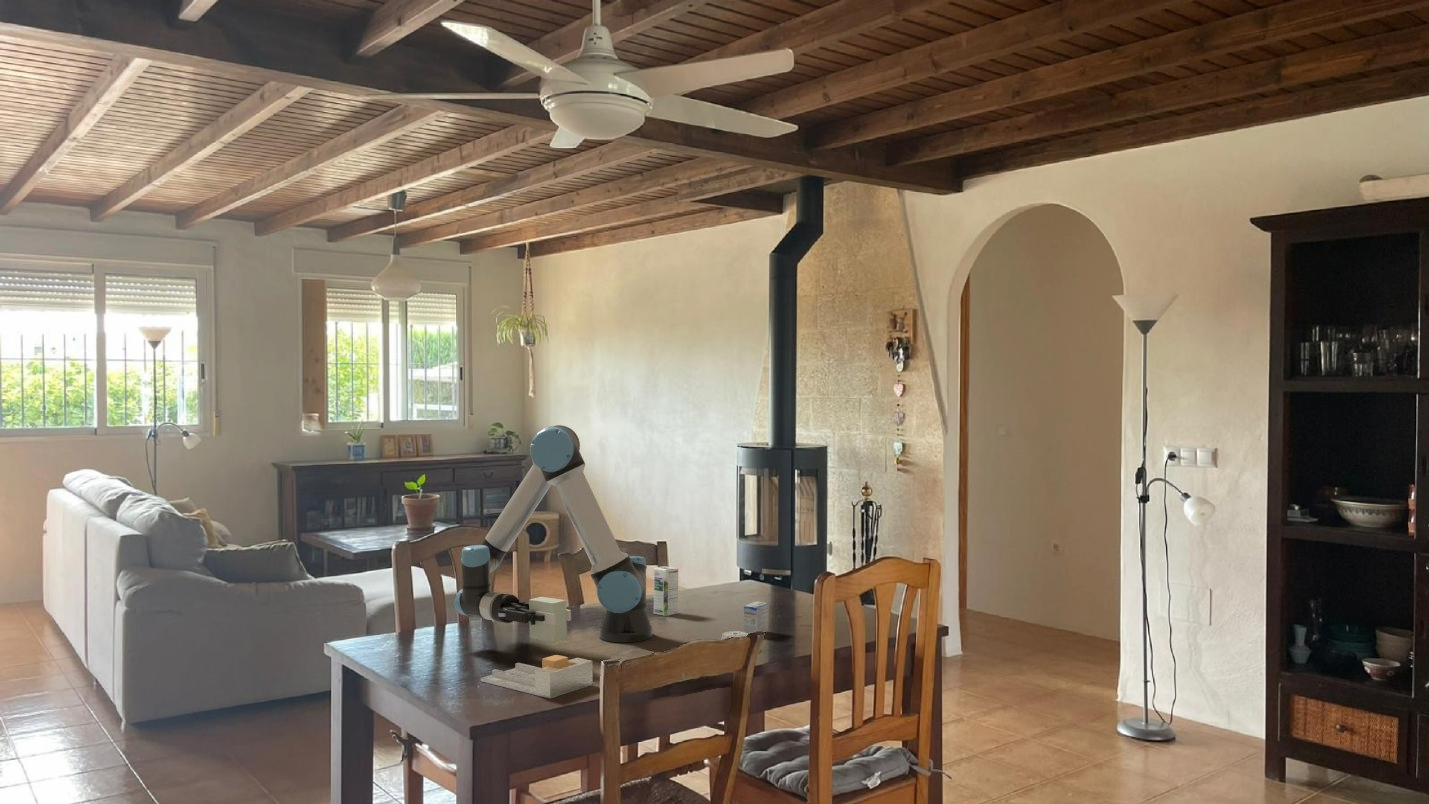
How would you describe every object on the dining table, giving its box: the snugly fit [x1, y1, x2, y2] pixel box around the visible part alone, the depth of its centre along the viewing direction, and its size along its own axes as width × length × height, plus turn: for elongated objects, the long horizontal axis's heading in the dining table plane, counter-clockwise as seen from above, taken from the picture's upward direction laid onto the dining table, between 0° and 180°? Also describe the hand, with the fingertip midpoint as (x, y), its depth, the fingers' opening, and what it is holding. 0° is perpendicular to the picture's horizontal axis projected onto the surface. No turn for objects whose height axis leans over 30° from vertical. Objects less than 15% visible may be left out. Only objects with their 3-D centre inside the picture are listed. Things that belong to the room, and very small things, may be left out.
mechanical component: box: [721, 630, 748, 640], centre depth 288 cm, size 10×4×10 cm
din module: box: [528, 596, 568, 643], centre depth 273 cm, size 4×9×10 cm, turn 53°
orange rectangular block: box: [541, 654, 569, 669], centre depth 252 cm, size 5×4×6 cm
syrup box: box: [653, 566, 679, 617], centre depth 332 cm, size 6×6×14 cm
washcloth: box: [606, 647, 655, 660], centre depth 272 cm, size 12×18×3 cm, turn 51°
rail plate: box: [480, 657, 594, 700], centre depth 256 cm, size 14×24×6 cm, turn 53°
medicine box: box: [743, 601, 770, 633], centre depth 305 cm, size 8×4×9 cm, turn 152°
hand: (562, 617), depth 269 cm, fingers closed on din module, 4 cm apart
